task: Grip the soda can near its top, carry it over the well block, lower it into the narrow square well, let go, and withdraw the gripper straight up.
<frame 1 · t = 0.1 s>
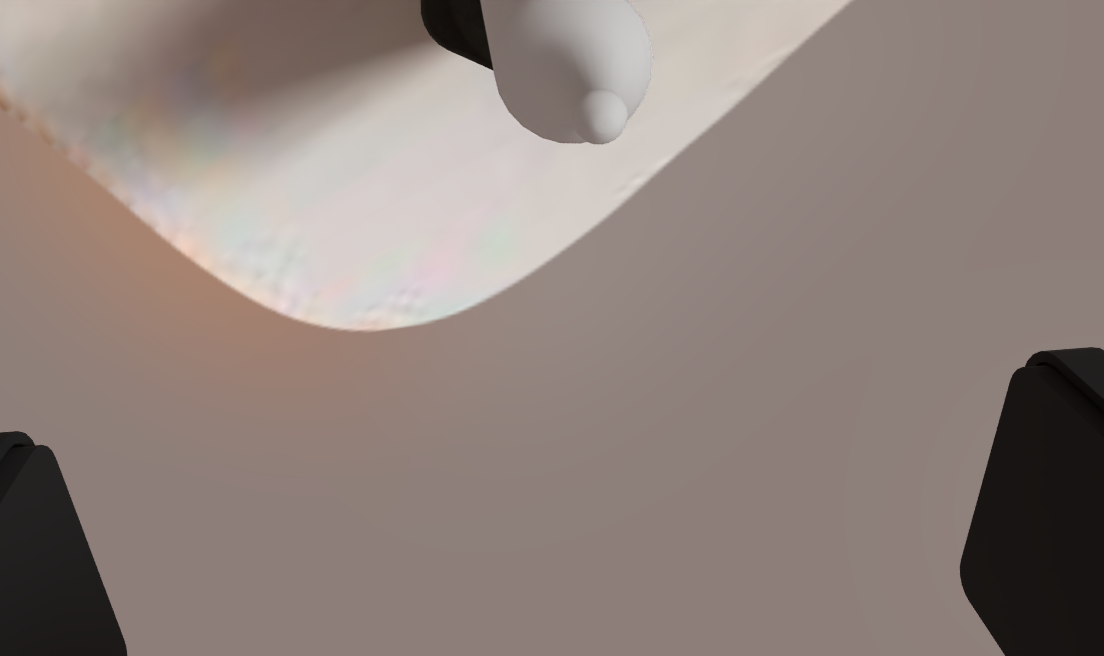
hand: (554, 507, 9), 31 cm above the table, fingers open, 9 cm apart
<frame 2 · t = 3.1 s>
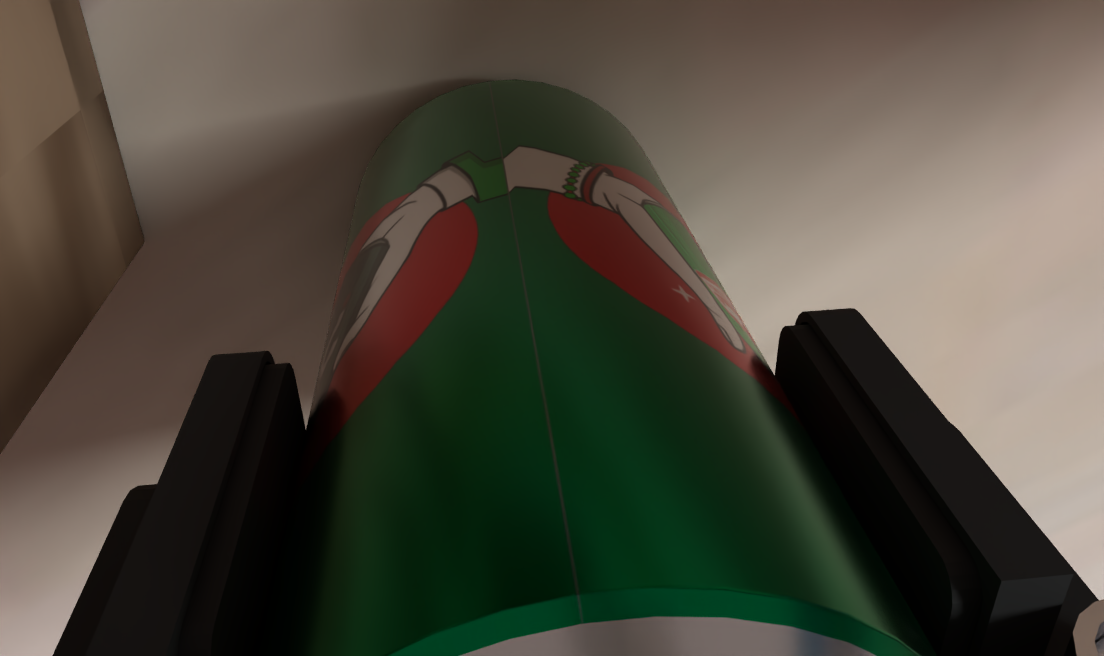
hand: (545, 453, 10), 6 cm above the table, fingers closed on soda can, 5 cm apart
soda can: (507, 214, 16), on the table, touching gripper
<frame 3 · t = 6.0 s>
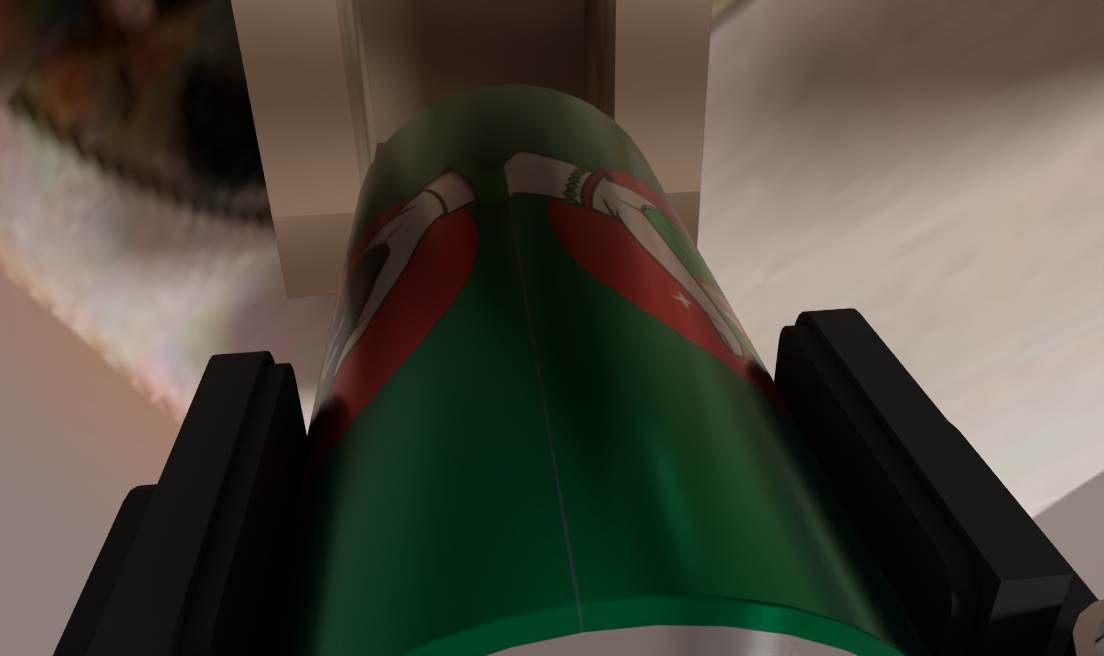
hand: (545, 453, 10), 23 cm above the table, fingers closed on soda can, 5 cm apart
well block: (474, 23, 30), on the table
soda can: (507, 218, 16), point 16 cm above the table, touching gripper
when the fingers open (9 cm above the table, at t = 8.9 s): soda can drops 1 cm, resting on well block.
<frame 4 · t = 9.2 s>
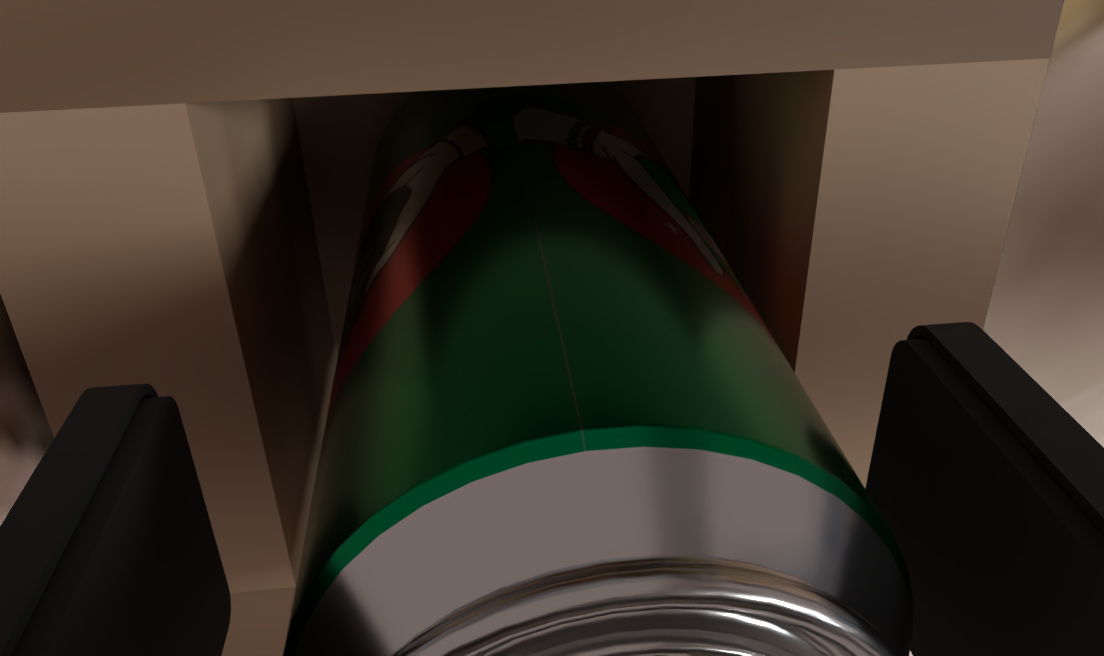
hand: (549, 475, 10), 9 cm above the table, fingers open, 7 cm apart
well block: (500, 170, 18), on the table
soda can: (512, 179, 17), point 1 cm above the table, touching well block
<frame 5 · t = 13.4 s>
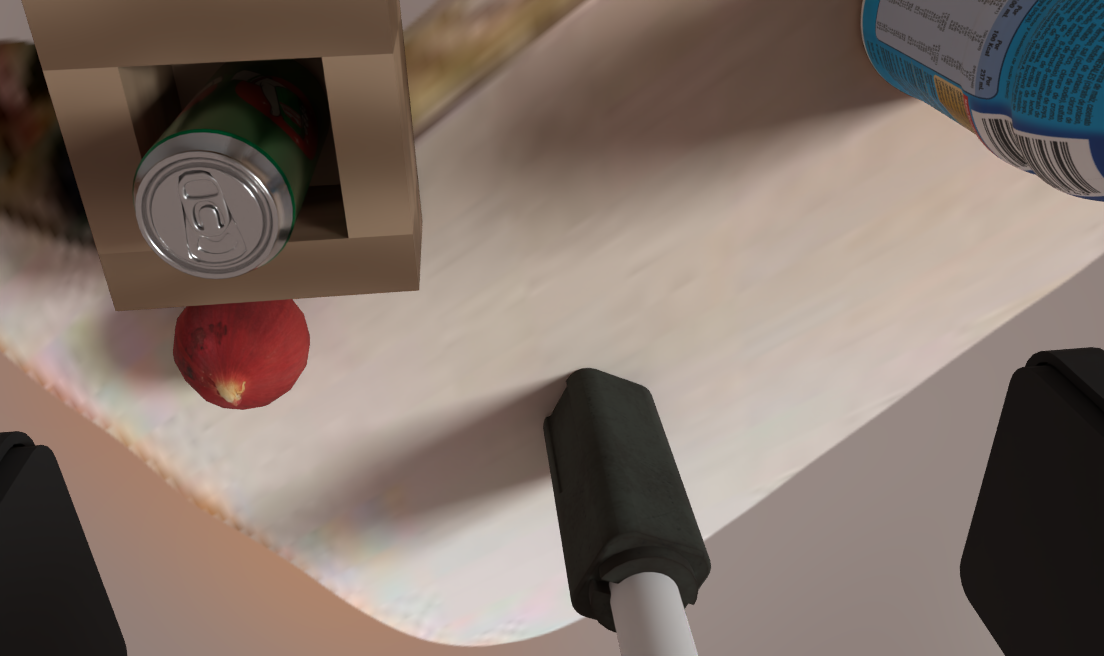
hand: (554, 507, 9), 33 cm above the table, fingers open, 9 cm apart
well block: (270, 103, 40), on the table
onion: (258, 302, 45), on the table
soda can: (272, 106, 39), point 1 cm above the table, touching well block
beverage bottle: (942, 0, 41), on the table
candle: (597, 411, 50), on the table
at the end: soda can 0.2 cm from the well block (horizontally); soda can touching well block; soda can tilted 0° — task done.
